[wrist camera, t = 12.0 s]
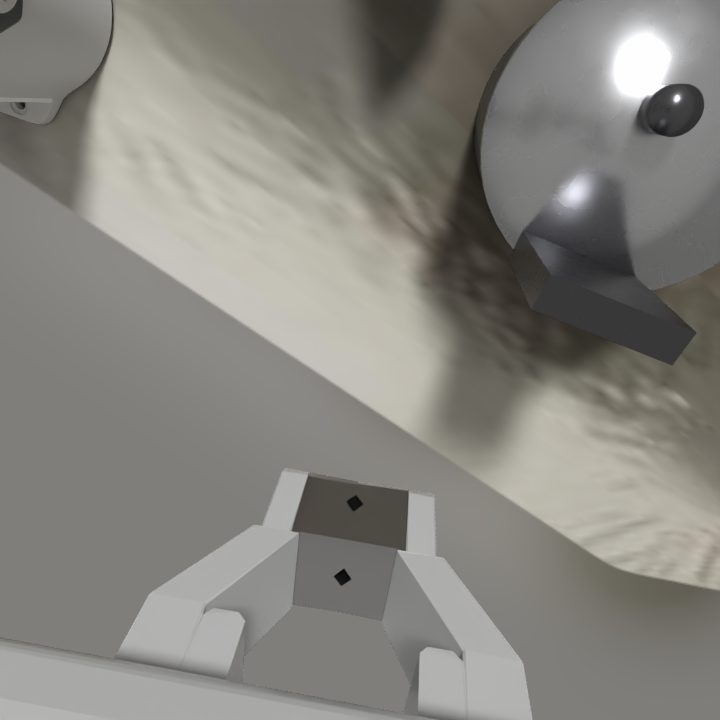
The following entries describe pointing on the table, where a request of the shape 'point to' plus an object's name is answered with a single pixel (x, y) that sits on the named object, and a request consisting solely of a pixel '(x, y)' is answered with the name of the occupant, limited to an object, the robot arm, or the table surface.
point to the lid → (609, 163)
